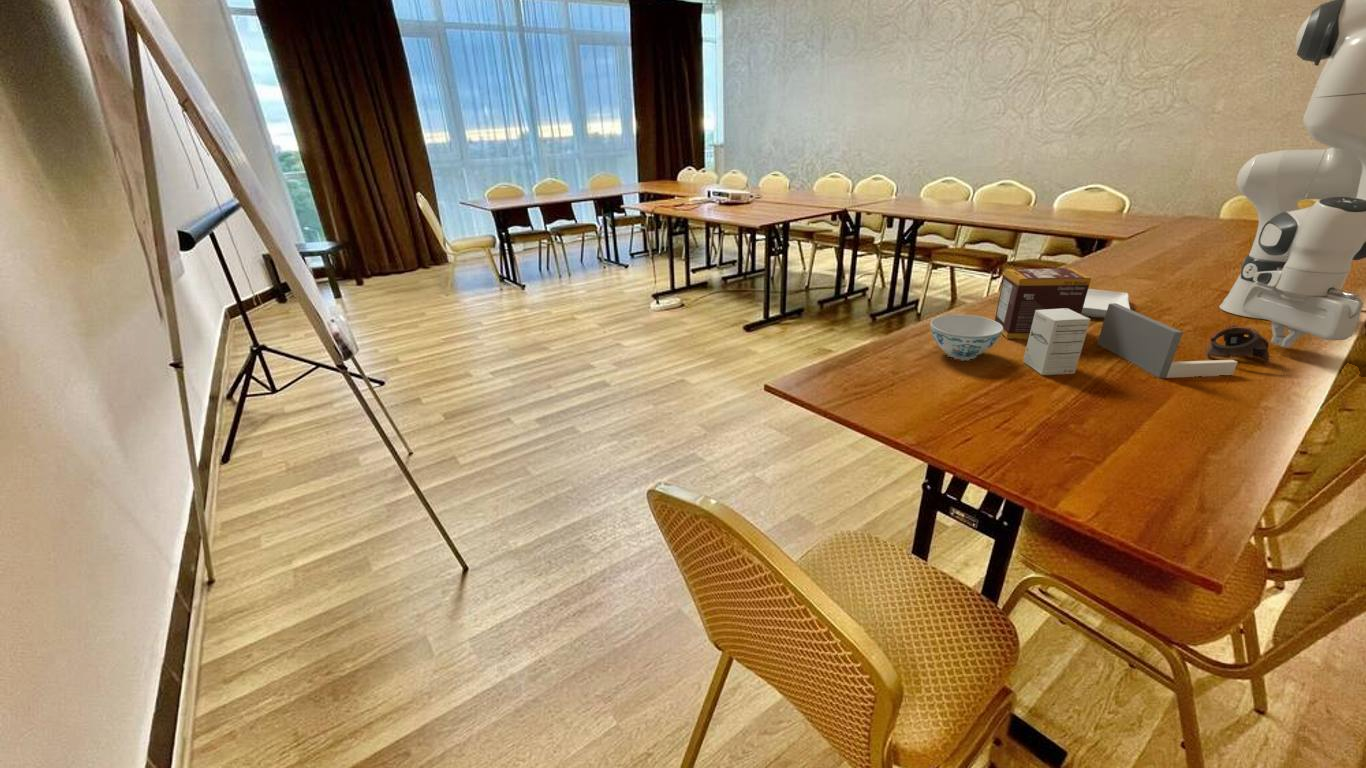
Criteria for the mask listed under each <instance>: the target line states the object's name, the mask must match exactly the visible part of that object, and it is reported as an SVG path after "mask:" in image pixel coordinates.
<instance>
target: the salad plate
mask: <svg viewBox="0 0 1366 768" xmlns="http://www.w3.org/2000/svg"><path fill="white" fill-rule="evenodd" d="M1129 296H1130V295H1129V293H1128V292H1123V291H1122V292H1121V291H1114V290H1113V291H1112V290H1111V291H1110V290H1102V289H1093V288H1092V289H1091V288H1088V291H1087V295H1086V298H1085V302H1084V306H1083V309H1082V312H1081V315H1083V316H1085V317H1089V316H1090V317H1091V318H1103V319H1105V316H1106V312H1107V309H1108V305H1109V304H1112V303H1116V304H1119V305H1121V306H1123V307H1126V308H1128V309H1130V310H1132V309H1131V305H1130V302H1129V298H1130V297H1129Z"/></svg>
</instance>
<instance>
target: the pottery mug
mask: <svg viewBox="0 0 1366 768" xmlns="http://www.w3.org/2000/svg"><path fill="white" fill-rule="evenodd" d="M1245 335H1246V336H1245ZM1220 337H1223V340H1224V345H1223V344H1220V343H1218V342H1217V341H1216V340H1217V339H1219V338H1220ZM1205 356H1206V358H1207V357H1209V358H1211V357H1218V358H1225V359H1228V358H1239V357H1248V358H1251V359H1252V358H1253V357H1256V358H1260V359H1262V361H1263V362H1264V364H1265V363H1266V364H1265V365H1268V364H1269V361H1270V357H1271V356H1270V353H1269V341H1268V339H1267V338H1266V337H1265V336H1263V335H1262V334H1260V333H1259V331H1257V329H1255V328H1252V327H1248V326H1241V325H1240V326H1239V325H1235V324H1234V325H1229V326H1228V327H1225V328H1222V329H1219V330H1218V331H1216V332H1215V333H1213V334H1212V335H1211V337H1210V341H1209V343H1208V345H1207V347H1206V349H1205Z"/></svg>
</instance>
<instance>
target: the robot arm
mask: <svg viewBox="0 0 1366 768" xmlns="http://www.w3.org/2000/svg"><path fill="white" fill-rule="evenodd" d="M1294 42H1295V44H1294V45H1295V50H1296V56H1298V57H1299V58H1300V59H1301V60H1303V61H1307V62H1312V63H1314V66H1316V67H1318V66H1319V65H1320V63H1321V60H1326V59H1327V60H1326V62H1325V64H1324V66H1323V68H1322V70H1321V73H1320V75H1319V77H1318V79H1317V82H1316V84H1315V87H1314V90H1313V92H1312V94H1311V97H1310V99H1309V102H1308V104H1307V107H1306V110H1305V112H1304V115H1303V117H1302V123H1303V126H1304V127H1305V129H1306V130H1307V133H1308V135H1310V137H1311V138H1312V139H1314V140H1315V141H1316V142H1318V143H1319V144H1322V145H1324V146H1327V147H1329V148H1318V149H1317V148H1315V149H1312V148H1311V149H1310V148H1309V149H1307V148H1306V149H1283V150H1277V151H1270V152H1265V153H1264V152H1263V153H1260V154H1256V155H1255V156H1253V157H1252V158H1250V159H1248V160H1247V162H1245V163H1244V164H1243V165H1242V167H1241V168H1240V170H1239V172H1238V174H1237V176H1236V187H1237V189H1238V191H1239V192H1240V193H1241V194H1242V195H1243V196H1244V197H1245V198H1246V199H1248V200H1249V201H1250V202H1251V203H1252V205H1253V206H1254V208H1255V210H1256V212H1257V216H1258V225H1257V230H1256V234H1255V237H1254V241H1253V244H1252V246H1251V249H1250V252H1249V254H1247V255H1246V256H1245V257H1244V259H1243V262H1242V266H1241V271H1240V274H1239V276H1238V277H1237V278H1236V281H1235V282H1234V283H1233V285H1232V288H1231V289H1230V291H1229V292H1228V294H1227V296H1226V297H1225V298H1223V302H1222V303H1221V304H1220V305H1219V309H1221V310H1222V311H1225V312H1226V313H1230V314H1233V315H1237V316H1242V317H1245V318H1247V317H1248V318H1251V319H1252V318H1253V319H1258V320H1259V319H1260V320H1267V321H1270V322H1272V323H1271V325H1270V327H1271V333H1272V335H1273V336H1272V337H1271V340H1270V343H1271V344H1274V345H1277V346H1280V347H1282V348H1292V347H1293V345H1294V343H1295V341H1296V340H1298V339H1299V338H1301V337H1303V336H1304V335H1305V334H1308V335H1312V336H1314V337H1317V338H1320V339H1324V340H1325V341H1345V340H1347V339H1349V338H1351V337H1352V336H1353V335H1354V334H1355V331H1356V329H1357V325H1358V323H1359V320H1360V317H1361V312H1362V309H1363V306H1364V301H1363V300H1362V299H1361V297H1359V296H1360V295H1359V294H1357V293H1354V292H1349V291H1345V290H1343V289H1342V288H1343V286H1344V284H1345V282H1346V280H1347V278H1348V276H1349V274H1350V271H1351V269H1352V262H1353V261H1359V260H1363V259H1365V258H1366V0H1330V1H1327V2H1325V3H1322V4H1320V5H1319V6H1317V7H1316V8H1314V9H1313V10H1312V11H1311V13H1310V14H1309V16H1308V17H1307V18H1306V19H1305V20H1304V21H1303V22H1302V24H1301V26H1300V27H1299V29H1298V31H1297V34H1296V36H1295V41H1294ZM1305 200H1317V201H1316V202H1315V203H1313V204H1312V205H1311V206H1308V207H1304V208H1301V209H1300V208H1299V205H1298V204H1299V202H1301V201H1305ZM1286 328H1288V330H1287V332H1288V334H1287V335H1286Z"/></svg>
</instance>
